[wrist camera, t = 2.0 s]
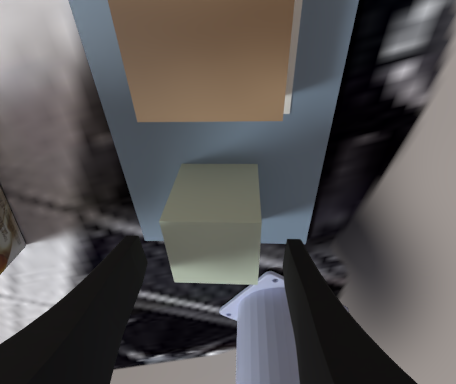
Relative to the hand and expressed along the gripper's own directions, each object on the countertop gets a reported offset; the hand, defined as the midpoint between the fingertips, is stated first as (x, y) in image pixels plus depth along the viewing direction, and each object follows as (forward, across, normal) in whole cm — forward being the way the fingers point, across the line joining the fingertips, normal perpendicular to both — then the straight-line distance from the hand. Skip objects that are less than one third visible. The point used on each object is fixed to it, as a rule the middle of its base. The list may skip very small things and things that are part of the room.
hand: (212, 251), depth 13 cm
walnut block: (+5, 0, -9) cm, 10 cm away
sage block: (+5, 0, 0) cm, 5 cm away
